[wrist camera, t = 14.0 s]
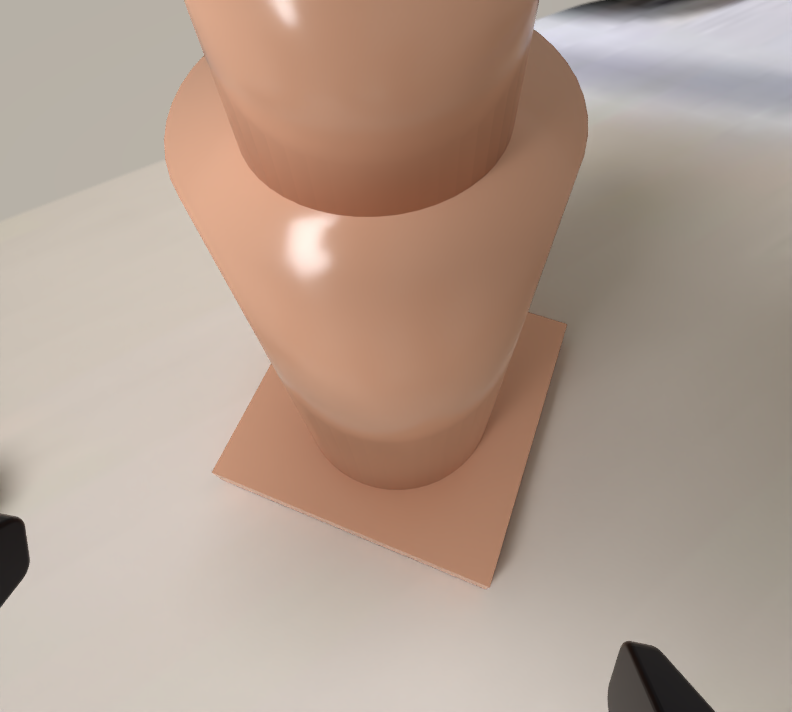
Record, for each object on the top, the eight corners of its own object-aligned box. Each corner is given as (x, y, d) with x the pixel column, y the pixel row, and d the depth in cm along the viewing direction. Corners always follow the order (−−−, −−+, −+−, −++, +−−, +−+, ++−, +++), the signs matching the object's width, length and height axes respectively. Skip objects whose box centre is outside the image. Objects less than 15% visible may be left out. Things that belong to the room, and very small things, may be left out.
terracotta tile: (485, 589, 16) (489, 587, 15) (222, 479, 18) (211, 472, 17) (560, 337, 19) (567, 323, 18) (335, 268, 21) (331, 252, 20)
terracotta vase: (511, 470, 16) (828, -34, 4) (316, 506, 16) (-40, 88, 3) (466, 306, 19) (562, -308, 6) (298, 334, 19) (60, -251, 6)
